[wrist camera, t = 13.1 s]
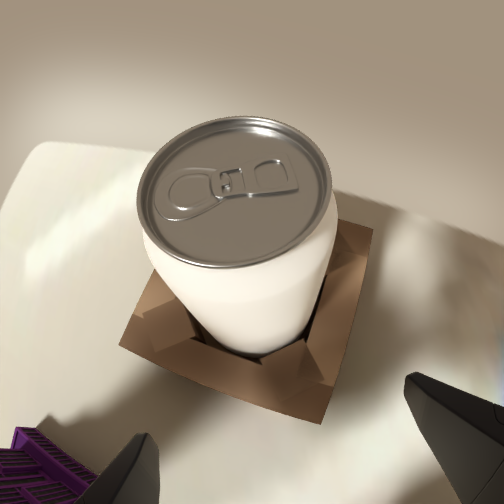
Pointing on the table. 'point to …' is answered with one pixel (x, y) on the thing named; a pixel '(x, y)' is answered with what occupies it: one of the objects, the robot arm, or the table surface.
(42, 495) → the building model
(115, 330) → the table surface
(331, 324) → the socket block
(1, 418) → the table surface
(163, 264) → the can
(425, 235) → the table surface
